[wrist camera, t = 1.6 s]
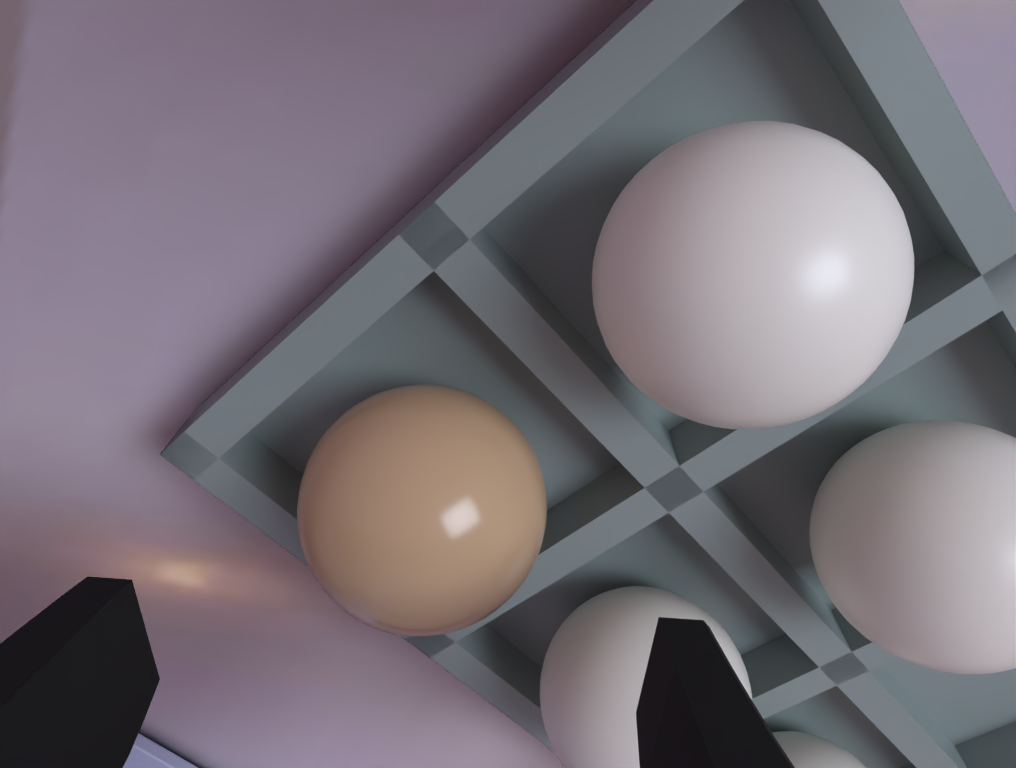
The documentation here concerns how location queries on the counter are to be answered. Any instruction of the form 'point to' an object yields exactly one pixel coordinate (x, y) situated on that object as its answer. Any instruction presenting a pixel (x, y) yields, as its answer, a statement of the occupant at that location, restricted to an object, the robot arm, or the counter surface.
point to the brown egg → (422, 510)
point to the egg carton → (706, 383)
